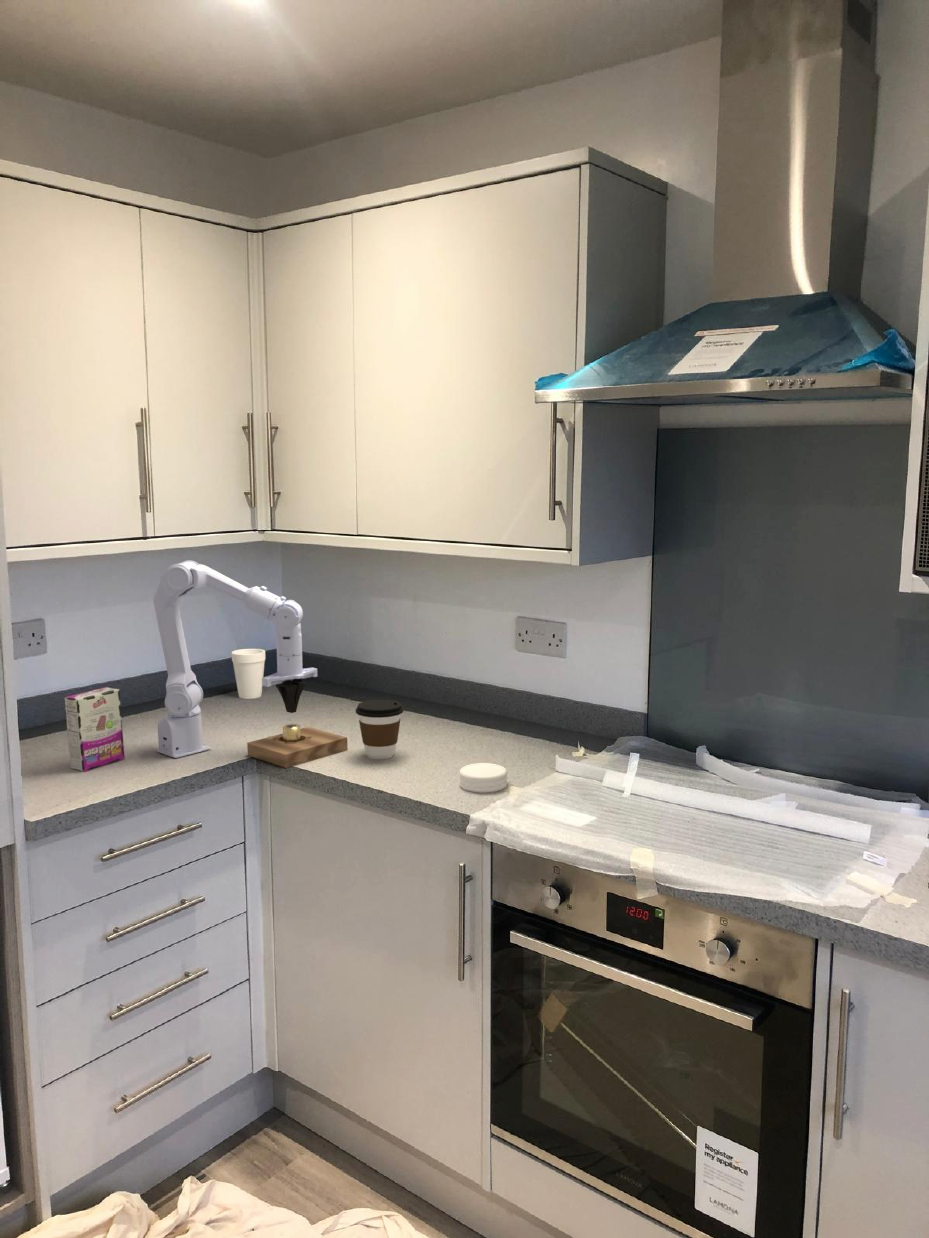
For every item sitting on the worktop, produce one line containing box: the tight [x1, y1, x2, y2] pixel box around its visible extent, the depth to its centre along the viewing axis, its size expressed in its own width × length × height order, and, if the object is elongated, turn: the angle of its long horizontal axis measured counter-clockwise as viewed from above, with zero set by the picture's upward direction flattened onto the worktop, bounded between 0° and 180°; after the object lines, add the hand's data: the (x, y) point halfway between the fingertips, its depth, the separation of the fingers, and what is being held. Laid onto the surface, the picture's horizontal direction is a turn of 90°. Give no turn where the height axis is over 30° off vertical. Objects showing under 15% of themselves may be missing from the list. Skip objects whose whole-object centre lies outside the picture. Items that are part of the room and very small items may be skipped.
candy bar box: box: [63, 686, 125, 773], centre depth 215 cm, size 11×5×16 cm, turn 148°
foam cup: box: [231, 648, 266, 700], centre depth 278 cm, size 10×9×13 cm
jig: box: [246, 726, 348, 769], centre depth 224 cm, size 18×14×3 cm
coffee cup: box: [355, 699, 405, 760], centre depth 221 cm, size 11×11×12 cm
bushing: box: [282, 723, 301, 742], centre depth 225 cm, size 4×4×6 cm
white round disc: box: [458, 762, 508, 794], centre depth 202 cm, size 10×10×4 cm
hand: (291, 711), depth 224 cm, fingers closed
